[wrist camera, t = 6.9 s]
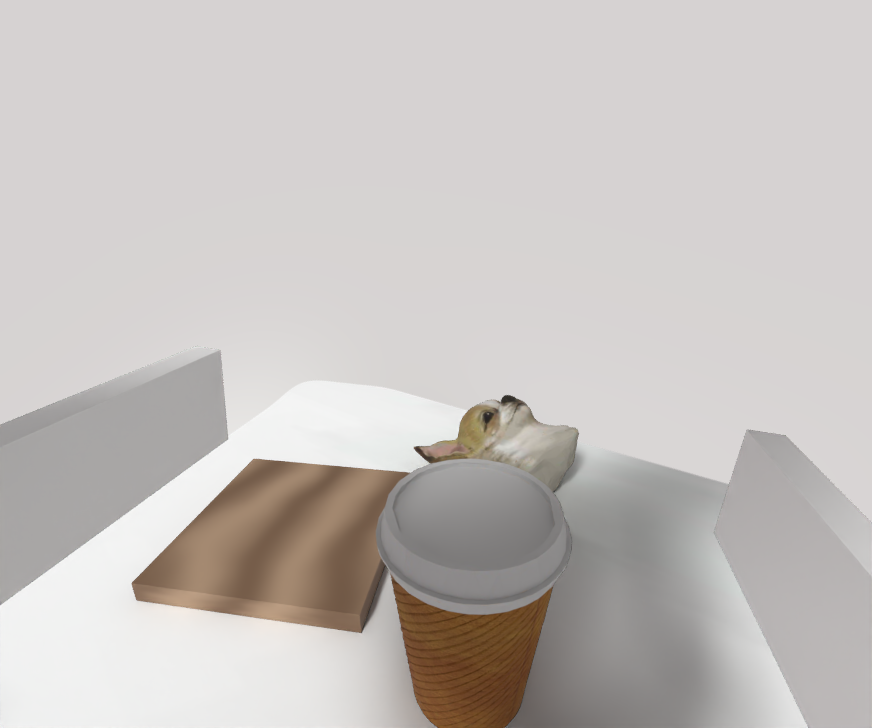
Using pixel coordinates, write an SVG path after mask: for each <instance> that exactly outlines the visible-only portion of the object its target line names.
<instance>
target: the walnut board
mask: <svg viewBox="0 0 872 728" xmlns="http://www.w3.org/2000/svg"><path fill="white" fill-rule="evenodd" d="M408 474H410V473H407V472H396V471H384V470H373V469H362V468H351V467H340V466H329V465H318V464H307V463H296V462H285V461H274V460H262V459H253V460H252V461H251V462H250V463H249V464H248V465H247V466H246V467H245V468H244V469H243V470H242V471H241V472H240V473H239V474H238V475H237V476H236V477H235V478H234V479H233V480H232V481H231V482H230V483H229V484H228V485H227V486H226V488H225V489H224V490H223V491H222V492H221V493H220V494H219V495H218V496H217V497H216V498H215V499H214V500H213V501H212V502H211V503H210V504H209V505H208V506H207V507H206V508H205V509H204V510H203V511H202V512H201V513H200V514H199V515H198V516H197V517H196V518H195V519H194V520H193V521H192V522H191V523H190V524H189V525H188V526H187V527H186V528H185V529H184V530H183V531H182V532H181V533H180V534H179V535H178V536H177V537H176V538H175V539H174V540H173V542H172V543H171V544H170V545H169V546H168V547H167V548H166V549H165V550H164V551H163V552H162V553H161V554H160V555H159V556H158V557H157V558H156V559H155V560H154V561H153V562H152V563H151V564H150V565H149V566H148V567H147V568H146V569H145V570H144V571H143V572H142V573H141V574H140V575H139V576H138V577H137V578H136V579H135V580H134V581H133V582H132V587H133V590H134V594H135V597H136V600H138V601H145V602H152V603H159V604H166V605H172V606H179V607H186V608H193V609H200V610H207V611H214V612H221V613H228V614H235V615H241V616H248V617H255V618H262V619H269V620H276V621H283V622H290V623H297V624H304V625H311V626H317V627H324V628H331V629H338V630H345V631H352V632H359V633H361V632H362V629H363V626H364V623H365V620H366V618H367V615H368V612H369V609H370V606H371V604H372V601H373V598H374V595H375V592H376V590H377V587H378V584H379V581H380V578H381V575H382V573H383V570H384V567H385V563H384V562H383V560H382V559H381V557H380V555H379V551H378V547H377V541H376V528H377V523H378V518H379V516H380V514H381V513H382V511H383V509H384V508H385V506H386V502H387V498H388V495H389V493H390V492H391V491H392V490H393V488H394V487H395V486H396V484H397V483H398V482H399V481H400V480H401V479H403V478H404V477H406V476H407V475H408Z"/></svg>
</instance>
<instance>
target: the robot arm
mask: <svg viewBox="0 0 872 728" xmlns="http://www.w3.org/2000/svg"><path fill="white" fill-rule="evenodd" d="M226 440H228V432H227V420H226V409H225V397H224V386H223V374H222V363H221V351H220V350H219V349H212V348H206V347H199V346H195V347H192V348H190V349H187V350H185V351H182V352H180V353H177V354H175V355H172V356H170V357H167V358H165V359H162V360H160V361H158V362H155V363H153V364H150V365H147V366H145V367H143V368H140V369H138V370H135V371H133V372H130V373H128V374H125V375H123V376H120V377H118V378H115V379H113V380H110V381H108V382H105V383H103V384H100V385H98V386H95V387H93V388H90V389H88V390H86V391H83V392H80V393H78V394H75V395H73V396H70V397H68V398H65V399H63V400H61V401H58V402H56V403H53V404H51V405H48V406H46V407H43V408H41V409H38V410H36V411H33V412H31V413H28V414H26V415H23V416H21V417H18V418H16V419H13V420H11V421H8V422H6V423H4V424H1V425H0V605H1V604H3V603H4V602H5V601H7V600H8V599H9V598H11V597H12V596H13V595H15V594H16V593H18V592H19V591H20V590H22V589H23V588H24V587H26V586H27V585H29V584H30V583H31V582H33V581H34V580H35V579H37V578H38V577H40V576H41V575H42V574H44V573H45V572H46V571H48V570H49V569H51V568H52V567H53V566H55V565H56V564H57V563H59V562H60V561H62V560H63V559H64V558H66V557H67V556H68V555H70V554H71V553H73V552H74V551H75V550H77V549H78V548H79V547H81V546H82V545H84V544H85V543H86V542H88V541H89V540H90V539H92V538H93V537H94V536H96V535H97V534H99V533H100V532H101V531H103V530H104V529H105V528H107V527H108V526H110V525H111V524H112V523H114V522H115V521H116V520H118V519H119V518H121V517H122V516H123V515H125V514H126V513H127V512H129V511H130V510H132V509H133V508H134V507H136V506H137V505H138V504H140V503H141V502H143V501H144V500H145V499H147V498H148V497H149V496H151V495H152V494H154V493H155V492H156V491H158V490H159V489H160V488H162V487H163V486H165V485H166V484H167V483H169V482H170V481H171V480H173V479H174V478H175V477H177V476H178V475H180V474H181V473H182V472H184V471H185V470H186V469H188V468H189V467H191V466H192V465H193V464H195V463H196V462H197V461H199V460H200V459H202V458H203V457H204V456H206V455H207V454H208V453H210V452H211V451H213V450H214V449H215V448H217V447H218V446H219V445H221V444H222V443H224V442H225V441H226ZM714 534H715V536H716V538H717V540H718V542H719V544H720V546H721V548H722V550H723V552H724V554H725V556H726V559H727V561H728V563H729V565H730V567H731V569H732V571H733V573H734V575H735V577H736V579H737V581H738V583H739V585H740V587H741V590H742V592H743V594H744V596H745V598H746V600H747V602H748V604H749V606H750V608H751V610H752V612H753V614H754V616H755V618H756V620H757V623H758V625H759V627H760V629H761V631H762V633H763V635H764V637H765V639H766V641H767V643H768V645H769V647H770V649H771V651H772V653H773V656H774V658H775V660H776V662H777V664H778V666H779V668H780V670H781V672H782V674H783V676H784V678H785V680H786V682H787V684H788V687H789V689H790V691H791V693H792V695H793V697H794V699H795V701H796V703H797V705H798V707H799V709H800V711H801V713H802V715H803V717H804V720H805V722H806V724H807V726H808V728H872V522H871V521H870V520H869V519H868V518H867V517H866V516H865V515H864V514H863V513H862V512H861V511H860V510H859V509H858V508H857V507H856V506H855V505H854V504H853V503H852V502H851V501H850V500H849V499H848V498H847V497H846V496H845V495H844V494H843V493H842V492H841V491H840V490H839V489H838V488H837V487H836V486H835V485H834V484H833V483H832V482H831V481H830V480H829V479H828V478H827V477H826V476H825V475H824V474H823V473H822V472H821V471H820V470H819V469H818V468H817V467H816V466H815V465H814V464H813V463H812V462H811V461H810V460H809V459H808V458H807V457H806V456H805V455H804V454H803V453H802V452H801V451H800V450H799V449H798V448H797V447H796V446H795V445H794V444H793V443H792V442H791V441H790V440H789V439H788V438H787V437H786V436H785V435H779V434H773V433H766V432H760V431H753V430H747V431H746V434H745V437H744V440H743V443H742V446H741V449H740V452H739V455H738V458H737V462H736V465H735V468H734V471H733V474H732V477H731V480H730V483H729V486H728V489H727V493H726V496H725V499H724V502H723V505H722V508H721V511H720V514H719V517H718V520H717V524H716V527H715V530H714Z"/></svg>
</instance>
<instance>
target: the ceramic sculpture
mask: <svg viewBox="0 0 872 728" xmlns="http://www.w3.org/2000/svg"><path fill="white" fill-rule="evenodd" d="M578 435H579V433H578V430H577V429H576V428H571V427H568V426H564V425H561V426H552V425H546V424H543V423H540V422H538V421H537V420H536V419H535V418H534V417H533V415H532V412H531V409H530V408H529V407H528V406H527V404H526V403H525V402H523V401H521V400H519V399H516V398H515V397H513V396H510V395H505V396H504V397H503V398H502V400H501V402H499V401H497V400H487V401H485V402H482V403H480V404H477V405H476V406H474V407H472V408H471V409H470V410H468V412H467V413H466V414H465V415H464V416H463V418H462V420H461V422H460V427H459V434H458V438H457V439H456V440H452V441H440V442H437V443H435V444H433V445H431V446H416V447H414V449H415V451H416V452H417V453H419V454H420V455H421V456H422V457H423V458H424V459H425V460H427V461H428V462H430V463H431V464H432V463H437V462H441V461H446V460H454V459H482V460H489V461H495V462H500V463H505V464H508V465H511V466H514V467H517V468H519V469H521V470H523V471H526V472H528V473H530V474H531V475H532V476H534V477H535V478H537V479H538V480H540V481H541V482H543V483H544V484H545V485H547V486H548V487H549V489H550V490H551V491H552V492H553V491H555V490H556V488H557V487H558V485H559V484H560V482H561V480H562V478H563V477H564V475H565V473H566V471H567V470H568V469H569V468H570V466H571V465H572V464H573V462H574V457H575V451H576V446H577V439H578Z"/></svg>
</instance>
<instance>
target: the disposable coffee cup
mask: <svg viewBox="0 0 872 728" xmlns="http://www.w3.org/2000/svg"><path fill="white" fill-rule="evenodd" d="M376 541H377V547H378V551H379V555H380V557H381V559H382V560H383V562H384V563H385V565H386V567H387V569H388V570H389V572H390V575H391V578H392V584H393V588H394V589H393V590H394V594H395V597H396V598H395V600H396V604H397V609H398V613H399V619H400V623H401V630H402V632H403V639H404V644H405V648H406V655H407V657H408V664H409V669H410V672H411V678H412V681H413V682H412V683H413V688H414V694H415V697H416V700H417V703H418V705H419V706H420V708H421V710H422V712H423V713H424V715H425V716H426V717H427V718H428V719H429V721H430V722H432V723H433V724H434V725H435V726H437V727H438V728H504V727H506V726H507V725H508V724H509V722H510V721H511V720H512V719H513V718H514V717H515V715H516V714H517V712H518V710H519V708H520V705H521V702H522V699H523V694H524V690H525V687H526V683H527V679H528V676H529V672H530V668H531V665H532V661H533V658H534V654H535V651H536V647H537V643H538V640H539V636H540V633H541V629H542V625H543V622H544V619H545V615H546V611H547V607H548V603H549V600H550V596H551V592H552V589H553V586H554V583H555V582H556V580H557V579H558V578H559V576H560V575H561V574H562V573H563V571H564V570H565V568H566V566H567V563H568V560H569V557H570V553H571V549H572V538H571V534H570V530H569V526H568V524H567V522H566V520H565V518H564V516H563V511H562V508H561V505H560V502H559V501H558V499H557V497H556V496H555V494H554V493H553V492H552V491H551V490H550V489H549V487H548V486H547V485H545V484H544V483H543V482H541V481H540V480H538V479H537V478H535V477H534V476H532V475H531V474H530V473H528V472H526V471H523V470H521V469H519V468H517V467H514V466H511V465H508V464H505V463H500V462H495V461H489V460H482V459H454V460H446V461H441V462H437V463H432V464H429V465H427V466H424V467H422V468H419V469H417V470H414V471H413V472H411V473H410V474H408V475H407V476H406V477H404V478H403V479H401V480H400V481H399V482H398V483H397V484H396V486H395V487H394V488H393V490H392V491H391V492H390V493H389V495H388V498H387V502H386V506H385V508H384V509H383V511H382V513H381V514H380V516H379V518H378V523H377V528H376Z"/></svg>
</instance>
